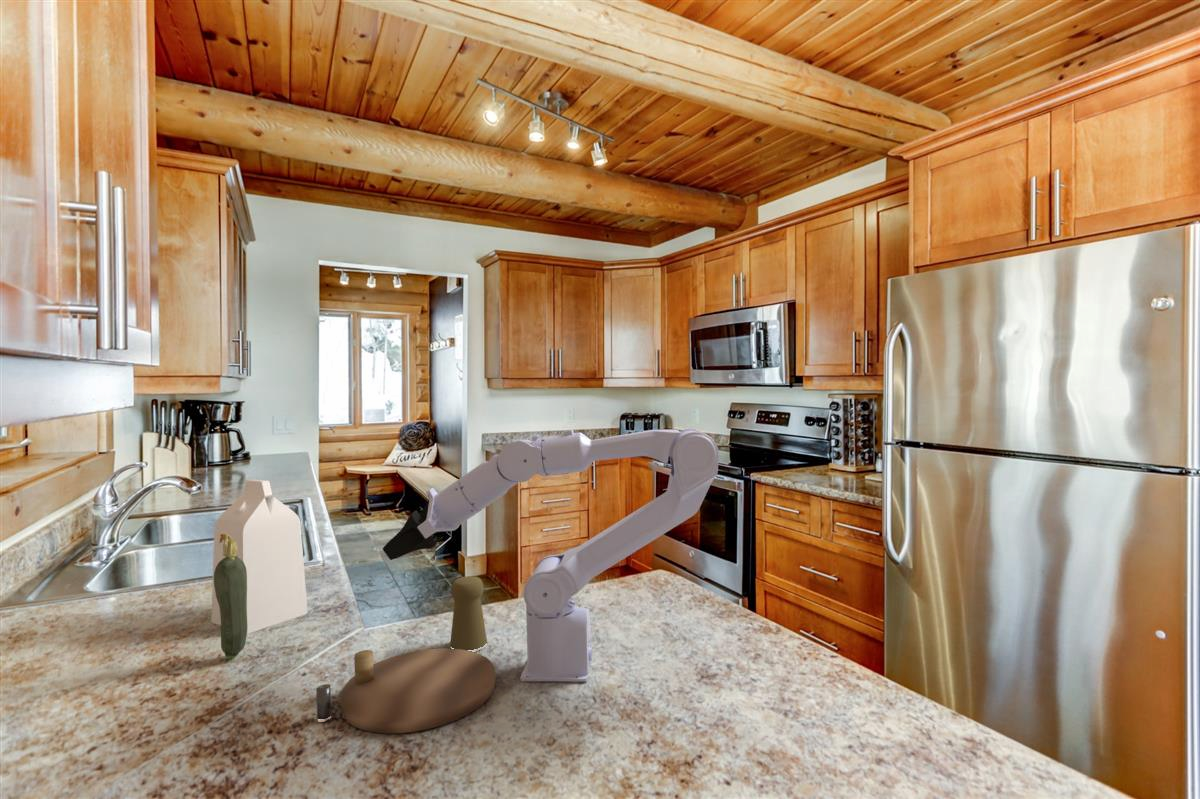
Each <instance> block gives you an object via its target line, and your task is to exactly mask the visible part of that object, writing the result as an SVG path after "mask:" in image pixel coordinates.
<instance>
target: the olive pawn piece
mask: <svg viewBox="0 0 1200 799" xmlns="http://www.w3.org/2000/svg"><path fill="white" fill-rule="evenodd" d="M484 590H485V588H484V583H483V581H482V579H481V578H480V577H478V576H471V575H469V576H461V577H459V578H456V579H455V580H454V581H453V582H452V584H451V587H450V593H451V597H452V599H453V600H454V605H453V613H452V623H451V632H450V633H451V634H450V643H449V647H450V646H451V647H452V648H454V649H462V650H467V651H468V650H474V649H478V648H480V647H483V646H484V645H485V644H486V643H487V644H488V639H487V631H486V625H485V618H484V613H483V607H482V601H481V600H482V599H481V598H482V595H483V594H484Z"/></svg>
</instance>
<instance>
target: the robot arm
mask: <svg viewBox="0 0 1200 799" xmlns="http://www.w3.org/2000/svg"><path fill="white" fill-rule="evenodd" d="M637 457H649V458H652V459H655V460H657V461H659V462H662V463H664V464H668V463H669V462H670V473H669V478H668V484H667V490H666V491H665V492H663V493H662V494H661V495H659V496H657V497H656V498H654V499H652V500H651V501H649V502H647V503H646V504H644V505H643V506H641V507H639V508H638V509H637V510H635V511H633V512H632V513H630V514H628V515H627V516H625V517H624V518H622V519H620V520H619V521H617V522H615V523H614V524H612V525H610V526H609V527H607V528H606V529H604V530H603V531H601V532H599V533H598V534H596V535H594V536H593V537H591V538H590V539H587V540H586V541H585V542H583V543H582V544H580V545H579V546H575V547H572V548H569V549H567V550H566V551H564V552H562V553H559V554H550V555H546V556H545V557H543V558H541V559H540V560H539V561H538V563H536V566H535V568H534V570H533V573H532V574H531V576H530V577H529V578H528V579H527V580H526V582H525V584H524V587H523V599H524V603H525V610H526V611H525V612H526V613H525V615H526V620H525V621H526V622H525V623H526V653H527V654H526V656H527V660H526V663H525V666H524V668H523V670H522V672H521V675H520V677H519V680H520V681H522V682H575V683H577V682H578V683H580V682H587V681H588V679H589V678H588V677H589V673H590V669H591V664H592V661H593V648H592V633H591V632H592V630H591V613H590V608H586V607H579V606H576V601H575V600H574V599H573V596H575V595H576V594H578V593H579V592H580V591H582V590H583V588H585V587H586V585H587V584H588V583H589V582H590V581H591V580H592V579H593V578H595V577H597V576H599V575H600V574H601V573H603V572H604V571H606V570H608V569H609V568H611V567H613V566H614V565H616V564H618V563H619V562H621V561H622V560H624V559H626V558H627V557H628V556H630V555H632V554H634V553H636V552H637V551H638V550H641V549H642V548H643V547H645V546H646V545H648V544H650V543H652V542H653V541H655V540H656V539H658V538H659V537H661V536H663V535H664V534H667V532H669V531H671V530H672V529H674V528H676V527H677V526H679V525H681V524H682V523H684V522H685V521H687V520H688V519H690V518H692V517H693V516H695V515H696V514H697V513H698V512H699V510H700V507H701V505H702V504H703V502H704V500H705V497H706V496H707V493H708V491H709V489H710V487H711V484H712V482H713V481H714V480H715V478H716V477H718V476H717V475H718V473H719V472H718V471H719V461H720V460H719V457H720V453H719V448H718V445H717V443H716V442H715V440H714V439H713V437H711V436H710V435H708V434H706V433H704V432H702V431H700V430H697V429H694V428H688V429H687V428H686V429H681V430H679V429H649V430H645V431H638V432H637V431H636V432H631V433H626V434H620V435H613V436H609V437H607V436H606V437H602V438H595V439H590V438H589V437H588V436H586V435H585V434H584V433H582V432H574V430H573V429H565V430H563V434H558V435H550V436H543V437H542V436H541V437H540V435H539V434H535V435H532V436H531V440H529V439H518V440H515V441H513V442H509V443H507V444H506V445H505V446H504V447H503V448H502V449H501V450H500V452H499V453H497V454H494V455H493V456H492V457H490V458H489V459H488V460H484V461H483V462H482V463H480V464H479V465H478V466H476V467H474V468H473V469H471V470H469V471H468V472H467V473H465V474H464V475H462V476H461V477H460V478H458V479H457V480H456V481H454V482H452V483H451V484H450V485H448V486H447V487H445V488H444V489H442V490H441V491H439V492H437V491H436V489H435V488H433V487H432V488H430V489H428V490H427V491H426V493H425V494H426V496H427V498H428V501H426V502H427V503H426V504H425V506H424V507H423V508H422V510H421V511H420V512H419V511H417V509H416V510H414V511H413V512H412V513H411V514H410V515H409V516H408V518H407V519H406V521H405V523H404V525H403V527H402V528H401V529H400V530H399V531H398V532H397V533H396V534H395V535H394V536H393V537H392V538H391V539H390V540H389V541H387V543H386V544H385V545H384V546H383V548H382V551H383V552H384V554H385V555H386V556H387V557H388V559H389V560H390V561H392V560H393V561H394V560H396V559H399V558H400V557H403V556H405V555H407V554H410V553H413V552H416V551H420V550H429V549H430V550H431V549H432V548H433V549H434V548H435V547H436V546H437V545H438V542H437V541H436V539H435V538H434V536H433V535H434V534H435V533H437V532H452V531H456V530H457V529H458V528H459V527H460V525H462V524H463V523H465V522H466V521H467V520H469V519H470V518H472V517H474V516H475V515H477V514H478V513H479V512H481V511H482V510H484V509H485V508H487V507H488V506H489V505H491V504H492V503H494V502H495V501H497V500H498V499H500V498H501V497H503V496H504V495H506V494H507V493H508V491H509V490H510V489H511V488H513V487H514V486H516V485H517V484H518V483H526V482H527V481H529V480H530V479H532V478H533V477H535V476H536V475H540V476H542V477H549V476H557V475H565V474H571V473H574V474H575V473H581V472H586V471H587V470H588V469H589V468H590V466H591V465H592V464H593V462H595V461H606V460H607V461H608V460H615V459H616V460H617V459H625V458H637Z"/></svg>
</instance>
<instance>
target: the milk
mask: <svg viewBox="0 0 1200 799" xmlns="http://www.w3.org/2000/svg"><path fill="white" fill-rule="evenodd" d="M213 533H214V534H213V535H214V536H213V561H212V563H213V564H212V590H211V591H212V592H211V595H212V596H211V623H212V622H213V624H214V625H218V626H220V627H221V616H220V607H219V604H218V601H217V598H216V592H215V587H214V572H215V568H216V566H217V564H218V563H219V562H220V561H221V560H222V559H224V558H226V557H225V556H223V544H224V540H223V539H222V540H223V541H222V542H221V543H219V542H220V538H221V536H220V535H221V534H222V533H225V534H228V535H229V536H231V537H232V539H234V541H235V542H236V543H237V547H238V551H237V557H238V558H240V559H241V560H242V561H243V562H244V564H245V567H246V571H247V635H248V634H250V633H254V632H257V631H261V630H262V629H266V628H269V627H271V626H274V625H277V624H278V625H279V624H281V623H283V622H287V621H289V620H293V619H295V618H298V617H302V616H305V615H307V614H309V610H308V598H307V588H306V577H305V576H306V575H305V566H304V565H305V564H304V563H305V562H304V561H305V560H304V552H303V539H302V538H303V537H302V527H301V520H300V518H299V515H297V513H296V512H295V511H293V510H292V509H291V508H290V507H288V505H286V504H284V503H283V502H281V501H280V500H279V499H277V498H276V497H275V496H273V491H272V487H271V483H270V480H264V479H253V478H251V479H246V480H245V481H244V487H243V491H242V494H241V495H240V496H239V497H238V498H237V499H236V500H235V501H233V503H232V504H231V505H230V506H229V507H228V508H227V509H225V511H224V512H222V514H221V515H220V516H219V517H218V518H217V520H216V521H215V523H214V529H213Z"/></svg>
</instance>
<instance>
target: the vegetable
mask: <svg viewBox="0 0 1200 799" xmlns="http://www.w3.org/2000/svg"><path fill="white" fill-rule="evenodd" d="M220 536H221V538H220V542H219V543H221V542H222V541H223V540H224V544H223V556H225V557H226V558H224V559H222V560H221V561H220V562H219V563H218V564H217V566H216V568H215V572H214V587H215V592H216V598H217V601H218V604H219V607H220V616H221V626H220V647H221V650H222V652H223V653H224V659H225V660H231V661H232V660H234V659H235V658H236V657H237V656H238V655H239V653H241V651H242V650H243V649H244V648H245V646H246V642H247V636H248V634H247V571H246V567H245V564H244V562H243V561H242V560H241V559H240V558H238V557H237V551H238V547H237V543H236V542H235V541H234V539H232V537H231V536H229V535H228V534H225V533H222V534H221V535H220ZM222 539H223V540H222Z"/></svg>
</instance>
